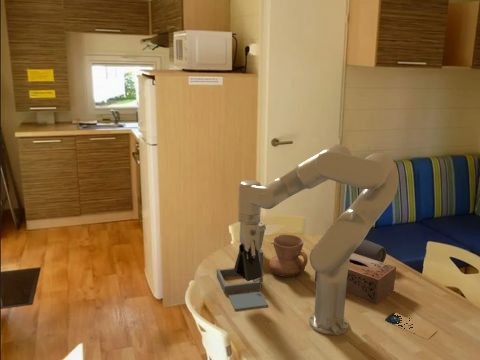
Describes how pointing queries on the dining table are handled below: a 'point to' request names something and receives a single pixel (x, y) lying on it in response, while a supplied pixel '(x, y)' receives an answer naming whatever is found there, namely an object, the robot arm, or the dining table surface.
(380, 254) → the bluetooth speaker
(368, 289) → the tissue box cover
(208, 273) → the dining table surface
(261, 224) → the disposable coffee cup
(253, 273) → the phone stand
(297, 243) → the ceramic jug
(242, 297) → the slate mat
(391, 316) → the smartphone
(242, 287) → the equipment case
